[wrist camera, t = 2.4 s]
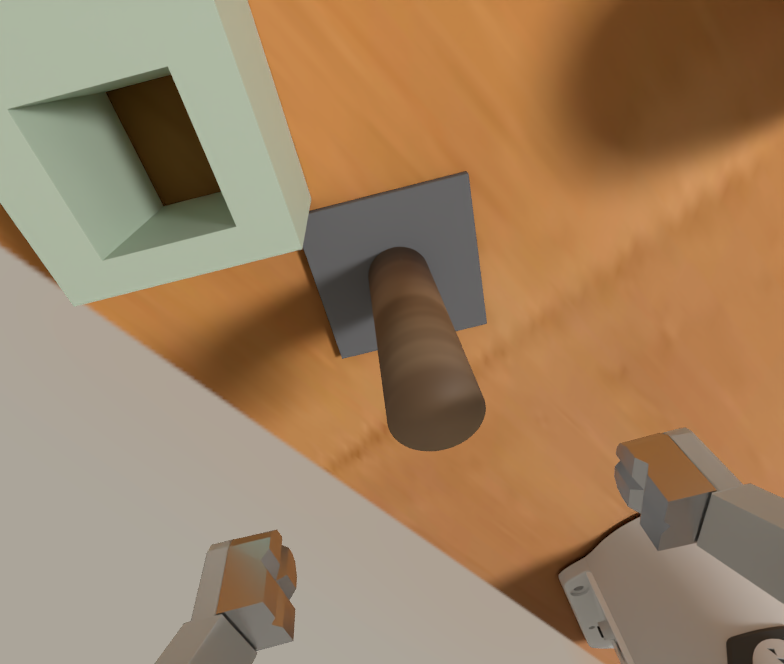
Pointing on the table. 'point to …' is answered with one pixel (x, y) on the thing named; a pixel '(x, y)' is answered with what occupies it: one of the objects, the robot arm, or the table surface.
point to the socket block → (117, 155)
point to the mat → (387, 230)
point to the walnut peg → (420, 356)
